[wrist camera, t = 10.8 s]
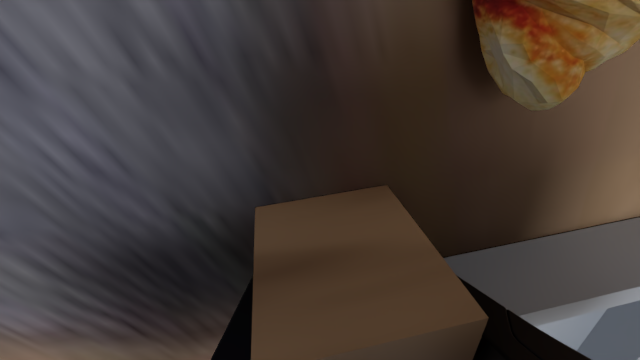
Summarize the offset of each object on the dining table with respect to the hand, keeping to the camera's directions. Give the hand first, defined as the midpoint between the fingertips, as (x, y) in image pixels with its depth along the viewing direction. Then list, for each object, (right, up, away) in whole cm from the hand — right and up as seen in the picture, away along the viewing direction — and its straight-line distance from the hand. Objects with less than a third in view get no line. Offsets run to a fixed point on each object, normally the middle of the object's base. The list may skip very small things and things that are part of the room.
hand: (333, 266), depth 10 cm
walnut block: (0, +1, +1) cm, 1 cm away
